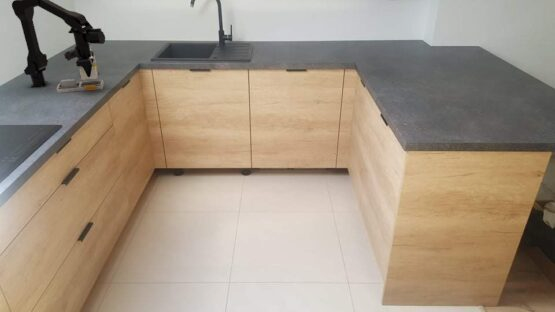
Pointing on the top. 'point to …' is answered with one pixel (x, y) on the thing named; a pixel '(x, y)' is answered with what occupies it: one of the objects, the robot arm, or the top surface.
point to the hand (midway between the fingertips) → (89, 75)
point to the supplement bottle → (94, 62)
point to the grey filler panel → (68, 83)
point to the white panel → (92, 76)
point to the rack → (82, 86)
